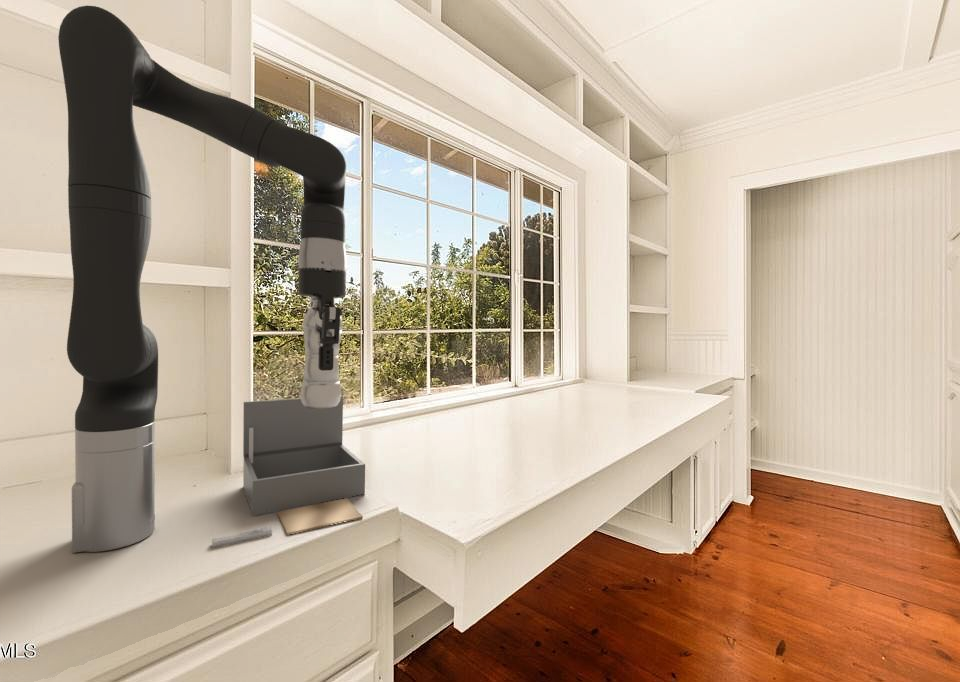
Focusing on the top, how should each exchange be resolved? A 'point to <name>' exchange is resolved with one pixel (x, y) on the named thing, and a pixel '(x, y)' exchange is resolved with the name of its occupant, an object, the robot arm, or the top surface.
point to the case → (296, 456)
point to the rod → (241, 537)
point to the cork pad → (318, 516)
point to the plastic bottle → (318, 384)
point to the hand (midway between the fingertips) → (321, 367)
